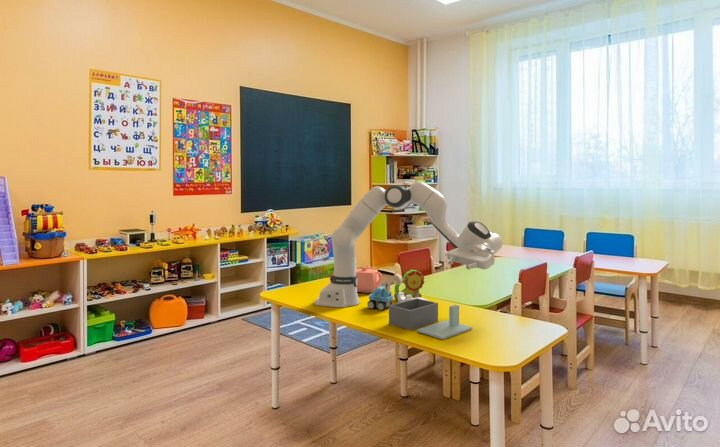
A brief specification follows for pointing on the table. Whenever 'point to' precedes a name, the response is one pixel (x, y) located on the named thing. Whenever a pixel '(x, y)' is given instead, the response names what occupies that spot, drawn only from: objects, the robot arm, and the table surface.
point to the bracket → (408, 297)
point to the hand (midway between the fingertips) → (458, 265)
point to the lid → (446, 326)
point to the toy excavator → (383, 294)
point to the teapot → (367, 279)
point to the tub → (413, 313)
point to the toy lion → (411, 284)
